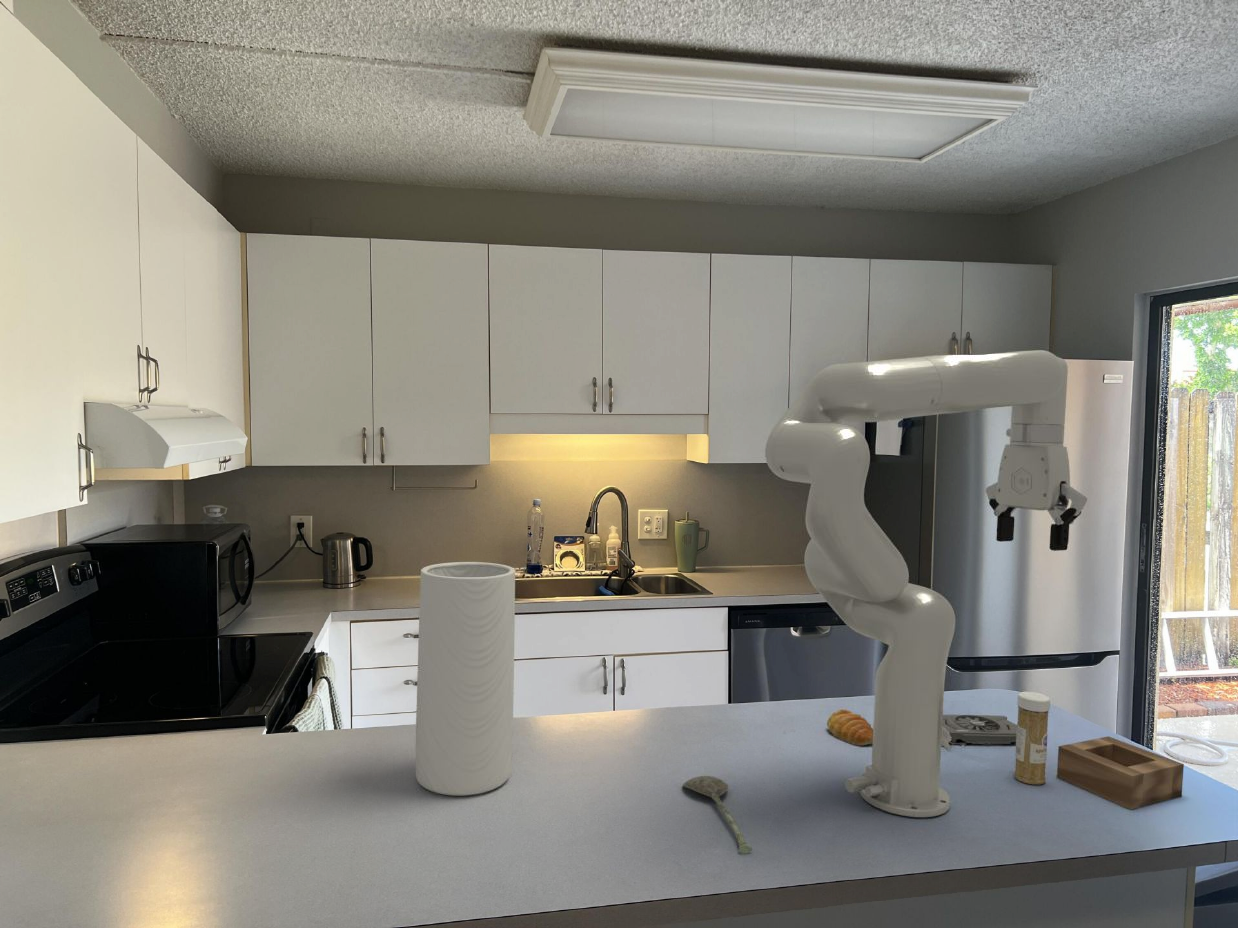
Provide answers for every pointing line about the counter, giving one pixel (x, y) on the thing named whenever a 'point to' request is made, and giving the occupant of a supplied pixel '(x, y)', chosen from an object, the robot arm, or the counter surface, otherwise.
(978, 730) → the graphics card
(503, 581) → the vase
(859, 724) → the pastry
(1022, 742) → the sprinkles bottle
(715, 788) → the soupspoon
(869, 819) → the counter surface
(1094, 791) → the walnut holder
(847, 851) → the counter surface
